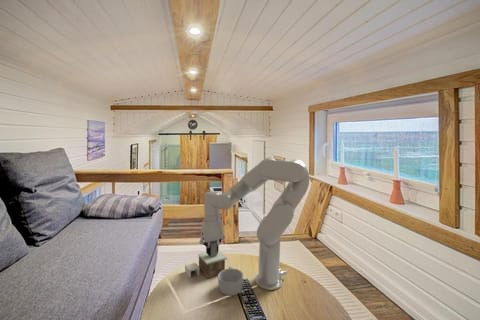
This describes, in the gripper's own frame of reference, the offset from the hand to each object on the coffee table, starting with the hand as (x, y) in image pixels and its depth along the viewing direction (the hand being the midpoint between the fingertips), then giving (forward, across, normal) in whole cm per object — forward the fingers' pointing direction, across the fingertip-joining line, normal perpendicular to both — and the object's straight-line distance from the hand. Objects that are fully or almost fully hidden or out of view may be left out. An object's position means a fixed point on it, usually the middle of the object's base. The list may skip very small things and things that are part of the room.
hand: (212, 253), depth 121 cm
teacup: (+11, -2, +16) cm, 19 cm away
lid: (+2, 0, 0) cm, 2 cm away
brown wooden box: (+10, 0, 0) cm, 10 cm away
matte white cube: (+10, +9, -3) cm, 14 cm away
